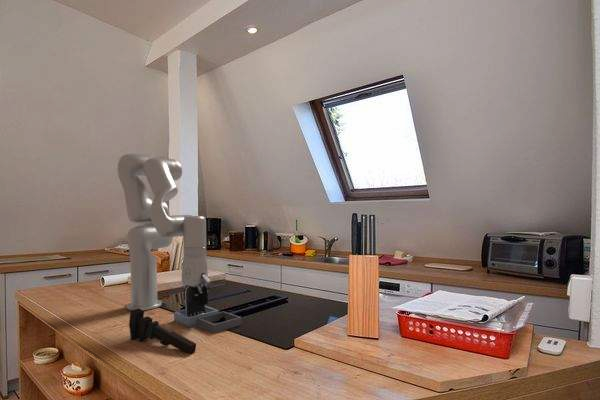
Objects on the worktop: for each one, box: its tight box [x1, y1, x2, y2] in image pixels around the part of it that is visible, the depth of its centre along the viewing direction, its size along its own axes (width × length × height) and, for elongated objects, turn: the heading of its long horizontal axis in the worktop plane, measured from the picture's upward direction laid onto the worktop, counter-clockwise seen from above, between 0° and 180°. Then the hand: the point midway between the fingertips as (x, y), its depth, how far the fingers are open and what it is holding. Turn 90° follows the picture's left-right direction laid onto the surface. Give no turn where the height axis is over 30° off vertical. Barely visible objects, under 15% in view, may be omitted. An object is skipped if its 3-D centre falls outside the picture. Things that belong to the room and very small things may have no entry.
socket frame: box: [196, 311, 243, 334], centre depth 120 cm, size 10×10×2 cm
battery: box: [184, 286, 206, 317], centre depth 126 cm, size 7×4×11 cm, turn 136°
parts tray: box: [173, 305, 220, 328], centre depth 126 cm, size 10×11×3 cm
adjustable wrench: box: [128, 308, 197, 355], centre depth 104 cm, size 8×3×25 cm
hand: (195, 301), depth 126 cm, fingers open, 9 cm apart
